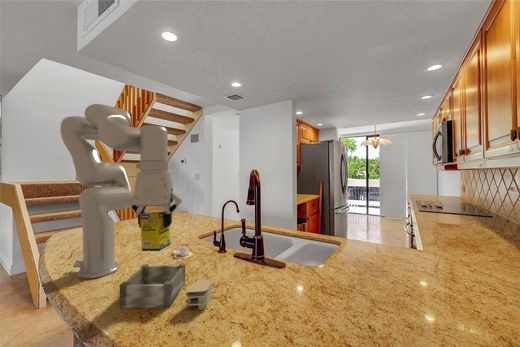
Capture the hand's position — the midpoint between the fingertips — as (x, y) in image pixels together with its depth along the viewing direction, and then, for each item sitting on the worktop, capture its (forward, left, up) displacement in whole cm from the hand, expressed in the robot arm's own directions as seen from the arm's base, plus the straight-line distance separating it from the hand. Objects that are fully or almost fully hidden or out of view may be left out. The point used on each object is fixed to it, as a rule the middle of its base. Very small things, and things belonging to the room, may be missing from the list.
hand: (155, 226), depth 69 cm
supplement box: (0, 0, -7) cm, 7 cm away
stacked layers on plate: (+14, -6, -21) cm, 26 cm away
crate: (0, 0, -21) cm, 21 cm away
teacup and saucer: (-2, +35, -22) cm, 42 cm away
